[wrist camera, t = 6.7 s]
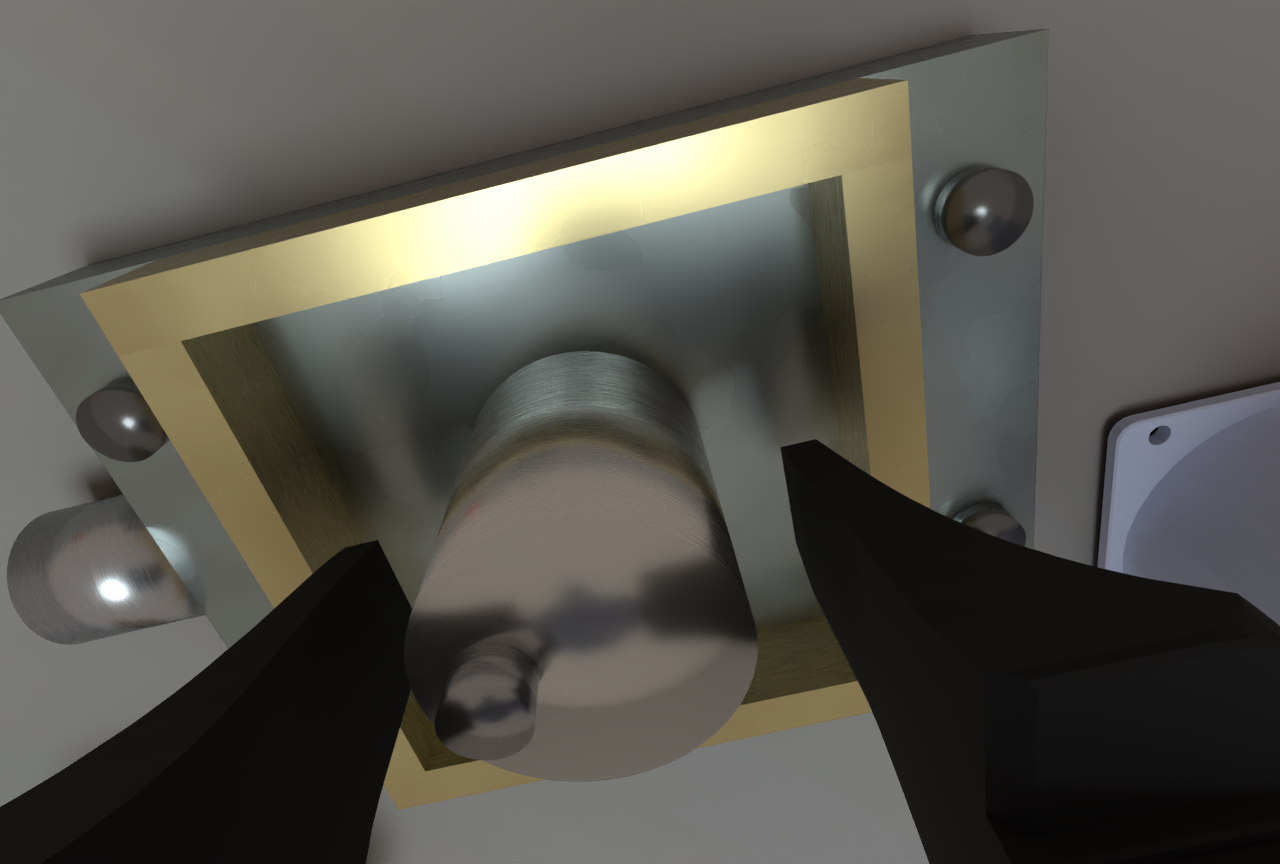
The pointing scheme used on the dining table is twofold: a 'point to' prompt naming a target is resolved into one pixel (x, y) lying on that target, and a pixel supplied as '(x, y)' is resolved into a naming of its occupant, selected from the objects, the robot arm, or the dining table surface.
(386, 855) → the dining table surface
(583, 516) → the tin can
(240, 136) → the dining table surface
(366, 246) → the metal tray
